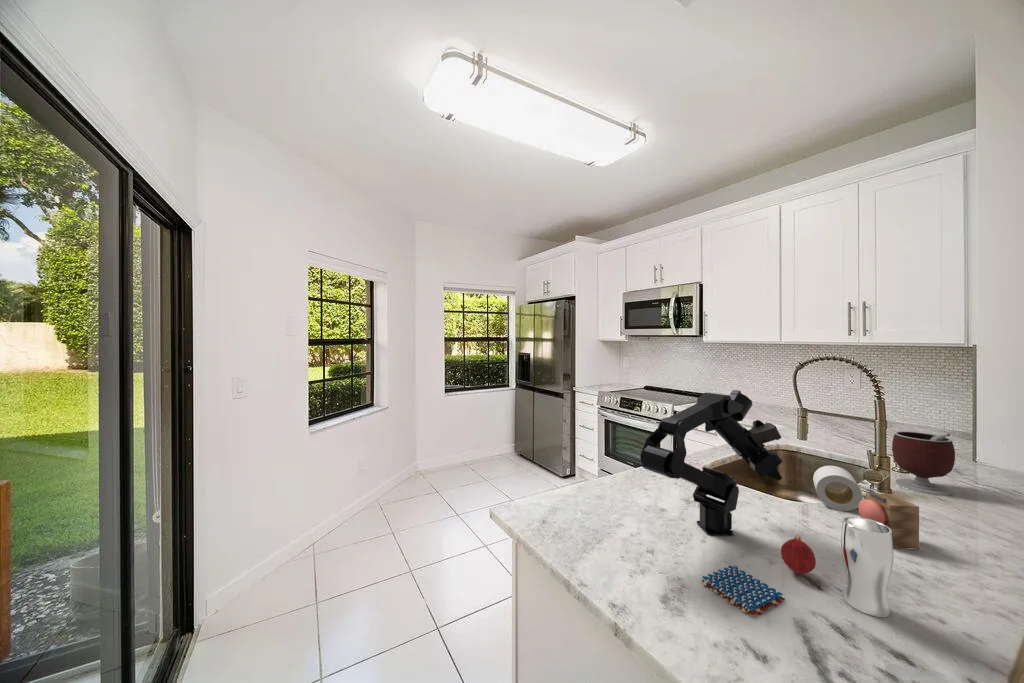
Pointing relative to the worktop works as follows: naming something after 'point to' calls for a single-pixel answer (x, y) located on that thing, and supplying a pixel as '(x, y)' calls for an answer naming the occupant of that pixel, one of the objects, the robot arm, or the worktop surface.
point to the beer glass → (867, 564)
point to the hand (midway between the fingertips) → (780, 478)
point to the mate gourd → (923, 459)
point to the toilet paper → (837, 499)
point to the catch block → (899, 519)
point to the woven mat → (743, 590)
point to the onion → (798, 556)
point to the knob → (872, 510)
